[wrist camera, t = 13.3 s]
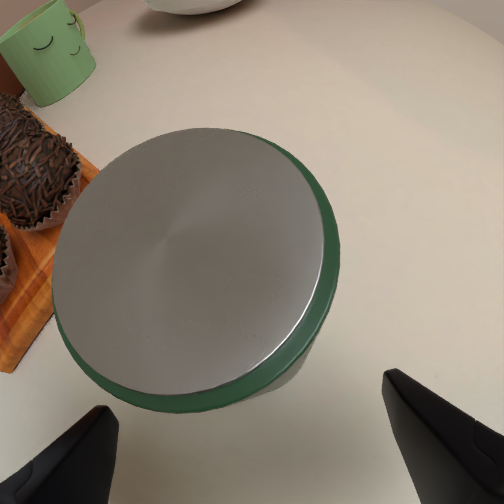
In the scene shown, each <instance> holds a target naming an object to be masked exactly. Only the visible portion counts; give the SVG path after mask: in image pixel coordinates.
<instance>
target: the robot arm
mask: <svg viewBox="0 0 504 504" xmlns="http://www.w3.org/2000/svg"><path fill="white" fill-rule="evenodd" d="M382 396H383V399H384V402H385V406H386V409H387V413H388V416H389V420H390V423H391V427H392V430H393V434H394V437H395V439H396V442H397V444H398V446H399V449H400V451H401V454H402V456H403V459H404V461H405V463H406V466H407V468H408V471H409V473H410V476H411V478H412V481H413V483H414V486H415V489H416V491H417V494H418V496H419V499H420V502H421V504H504V436H503V435H501V434H499V433H497V432H495V431H494V430H492V429H490V428H489V427H487V426H485V425H484V424H482V423H481V422H479V421H477V420H476V421H475V419H474V418H473V417H471V416H469V415H468V414H466V413H465V412H463V411H462V410H460V409H459V408H457V407H455V406H454V405H452V404H451V403H449V402H448V401H446V400H445V399H443V398H442V397H440V396H438V395H437V394H435V393H434V392H432V391H431V390H429V389H428V388H426V387H425V386H423V385H422V384H420V383H419V382H417V381H415V380H414V379H412V378H411V377H409V376H408V375H406V374H405V373H403V372H402V371H400V370H399V369H396V368H394V369H391V370H387V371H385V372H384V374H383V382H382ZM118 432H119V422H118V420H117V418H116V417H115V415H114V414H113V412H112V411H111V409H110V408H109V407H108V406H106V405H97V406H95V407H94V408H93V409H92V410H90V411H89V412H88V413H87V414H86V415H85V416H83V417H82V418H81V419H80V420H79V421H77V422H76V423H75V424H74V425H73V426H72V427H70V428H69V429H68V430H67V431H66V432H64V433H63V434H62V435H61V436H60V437H59V438H57V439H56V440H55V441H54V442H53V443H51V444H50V445H49V446H48V447H47V448H45V449H44V450H43V451H42V452H41V453H39V454H38V455H37V456H36V457H35V458H33V460H31V461H30V462H29V463H27V464H26V465H25V466H24V467H22V468H21V469H20V470H19V471H17V472H16V473H14V474H13V475H12V476H10V477H9V478H7V479H6V480H4V481H3V482H1V483H0V504H108V500H109V494H110V488H111V483H112V478H113V473H114V468H115V461H116V452H117V442H118Z"/></svg>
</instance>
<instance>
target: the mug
mask: <svg viewBox="0 0 504 504" xmlns="http://www.w3.org/2000/svg"><path fill="white" fill-rule="evenodd" d="M71 15H72V16H73V17H74V18H75V22H74V20H73V18H72V16H71ZM76 21H77V23H78V25H79V27H80V32H81V34H80V32H79V30H78V28H77V26H76V24H75V23H76ZM84 40H85V31H84V26H83V23H82V21H81V19H80V17H79V16H78V15H77V14H76V13H75V12H74V11H72V10H70V9H68V8H67V6H66V4H65V2H64V0H52V1H50V2H48V3H46V4H44V5H43V6H41V7H39V8H38V9H36V10H35V11H33V12H32V13H30V14H29V15H27V16H26V17H25V18H23V19H22V20H20V21H19V22H18V23H17V24H16V25H14V26H13V27H12V28H11V29H9V30H8V31H7V32H6V33H5V34H4V35H3V36H2V37H1V38H0V53H1V54H2V56H3V57H4V59H5V60H6V62H7V63H8V65H9V66H10V68H11V69H12V71H13V72H14V74H15V75H16V77H17V78H18V79H19V81H20V82H21V84H22V85H23V86H24V88H25V89H26V91H27V92H28V93H29V95H30V96H31V98H32V99H33V100H34V102H35V103H36V104H37V105H38V106H40V107H44V106H48V105H50V104H53V103H55V102H57V101H58V100H60V99H62V98H63V97H65V96H66V95H68V94H69V93H71V92H72V91H73V90H75V89H76V88H77V87H78V86H79V85H81V84H82V83H83V82H84V81H85V80H86V79H87V78H88V77H89V76H90V74H91V73H92V72H93V70H94V68H95V66H96V62H95V60H94V58H93V57H92V55H91V53H90V51H89V49H88V47H87V45H86V43H85V41H84Z"/></svg>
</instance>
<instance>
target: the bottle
mask: <svg viewBox="0 0 504 504" xmlns="http://www.w3.org/2000/svg"><path fill="white" fill-rule="evenodd" d="M24 90H25V88H24V86H23V85H22V84H21V82H20V81H19V79H18V78H17V77H16V75H15V74H14V72H13V71H12V69H11V68H10V66H9V65H8V63H7V62H6V60H5V59H4V57H3V56H2V54H1V53H0V93H4V94H11V95H12V96H13V95H14V94H16V99H18V97H19V96H20V95H21V94H22V93H23V91H24Z"/></svg>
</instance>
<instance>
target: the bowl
mask: <svg viewBox="0 0 504 504" xmlns="http://www.w3.org/2000/svg"><path fill="white" fill-rule="evenodd" d="M142 1H144V2H145V3H146V4H147V5H148V6H149V7H150V8H151V9H152V10H156V11H164V12H168V13H173V14H183V15H197V14H205V13H210V12H214V11H218V10H222V9H225V8H227V7H230V6H232V5H234V4H236V3H238V2H239V1H241V0H142Z"/></svg>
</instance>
